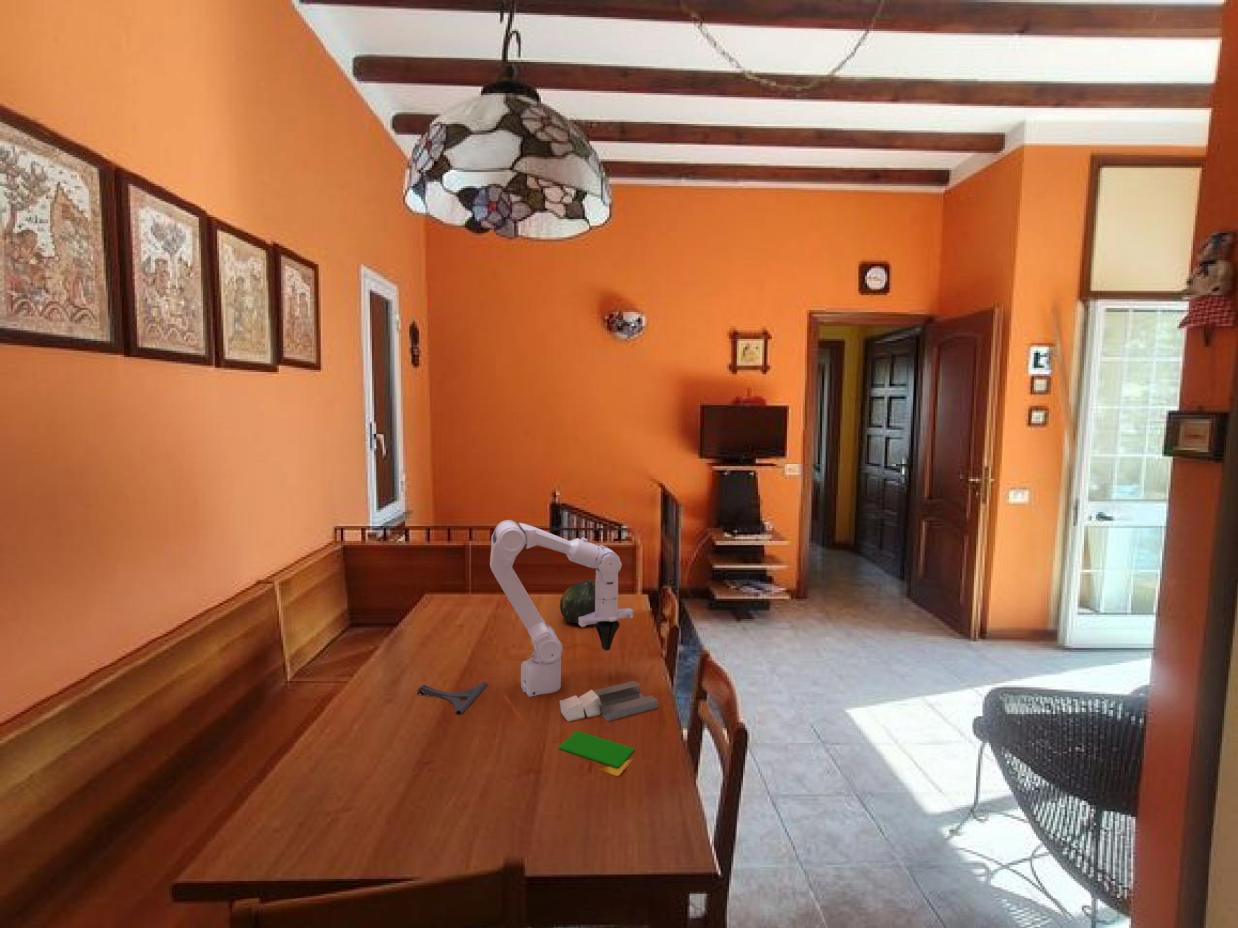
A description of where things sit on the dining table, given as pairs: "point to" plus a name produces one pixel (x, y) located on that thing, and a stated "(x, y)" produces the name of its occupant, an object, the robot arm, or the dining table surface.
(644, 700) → the slot plate
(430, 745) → the dining table surface
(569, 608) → the squash
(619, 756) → the dish sponge
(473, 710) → the dining table surface
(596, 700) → the block
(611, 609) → the robot arm
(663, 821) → the dining table surface
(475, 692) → the bracket
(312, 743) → the dining table surface
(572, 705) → the block
